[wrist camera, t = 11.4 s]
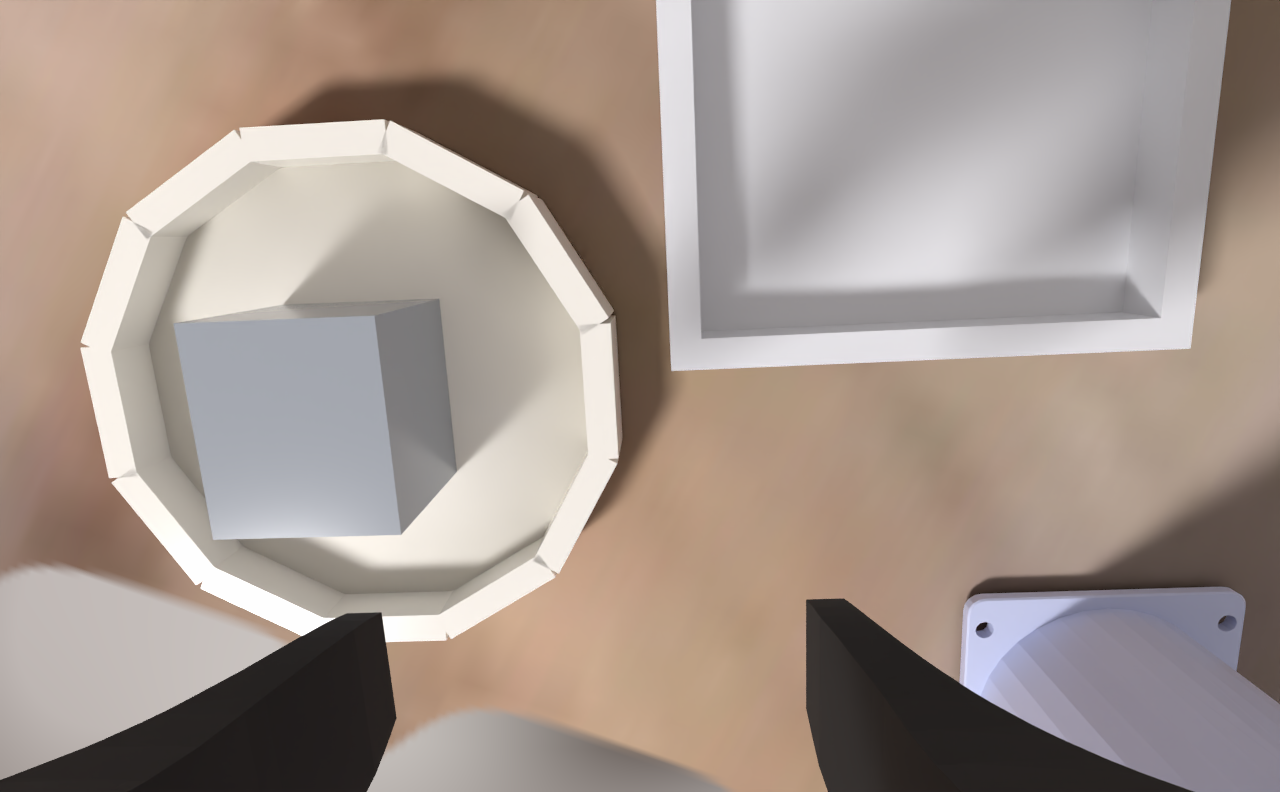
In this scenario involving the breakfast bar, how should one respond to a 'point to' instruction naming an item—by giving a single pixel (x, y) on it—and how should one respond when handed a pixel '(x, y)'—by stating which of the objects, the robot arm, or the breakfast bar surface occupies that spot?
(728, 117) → the parts tray
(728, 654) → the breakfast bar surface
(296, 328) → the block
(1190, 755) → the robot arm
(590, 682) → the breakfast bar surface
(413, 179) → the bowl
